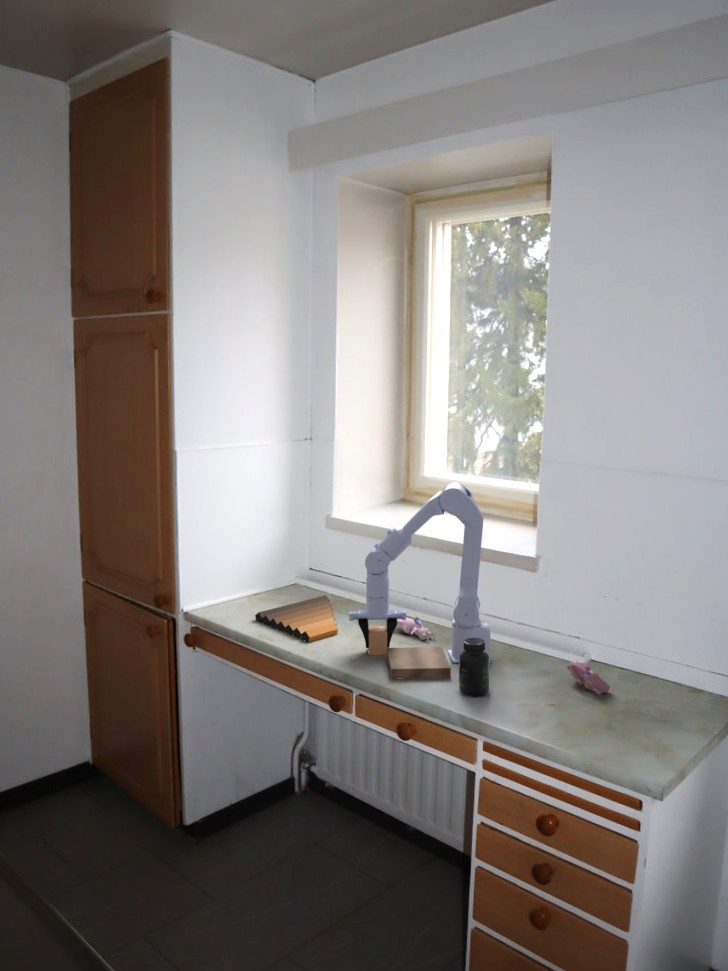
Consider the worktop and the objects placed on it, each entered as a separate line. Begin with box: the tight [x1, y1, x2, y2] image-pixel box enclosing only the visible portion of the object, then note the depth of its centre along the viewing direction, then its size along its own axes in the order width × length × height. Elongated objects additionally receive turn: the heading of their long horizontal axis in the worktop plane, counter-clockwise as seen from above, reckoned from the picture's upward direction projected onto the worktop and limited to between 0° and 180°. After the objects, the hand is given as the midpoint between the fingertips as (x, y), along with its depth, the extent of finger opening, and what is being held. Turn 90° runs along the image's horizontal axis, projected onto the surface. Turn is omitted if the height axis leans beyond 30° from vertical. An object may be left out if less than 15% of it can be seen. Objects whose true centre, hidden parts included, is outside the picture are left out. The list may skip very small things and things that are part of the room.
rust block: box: [367, 625, 387, 656], centre depth 208 cm, size 5×5×6 cm
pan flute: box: [254, 595, 339, 643], centre depth 232 cm, size 25×3×25 cm
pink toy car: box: [566, 660, 610, 694], centre depth 186 cm, size 10×5×7 cm, turn 21°
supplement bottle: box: [458, 638, 491, 698], centre depth 183 cm, size 7×7×12 cm
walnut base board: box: [386, 646, 452, 680], centre depth 198 cm, size 14×14×2 cm
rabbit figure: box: [397, 616, 436, 643], centre depth 221 cm, size 6×6×15 cm
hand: (377, 646), depth 208 cm, fingers closed on rust block, 5 cm apart
